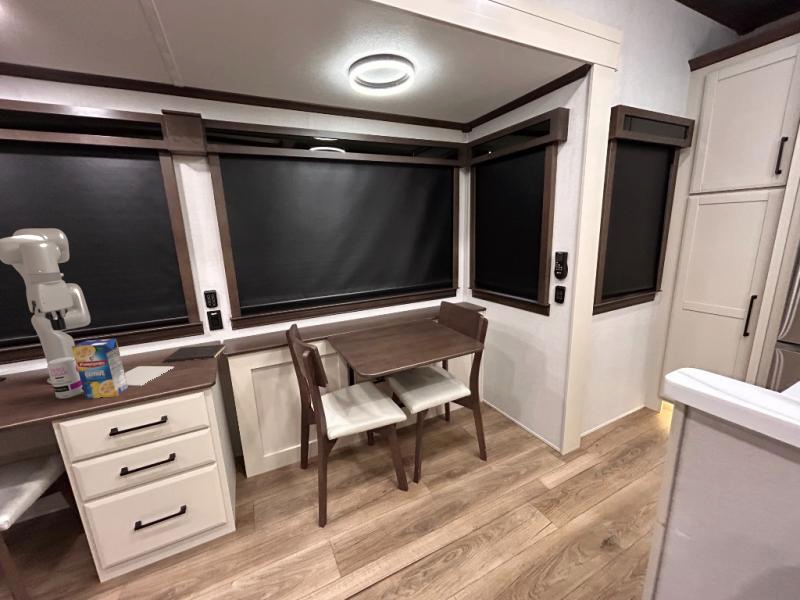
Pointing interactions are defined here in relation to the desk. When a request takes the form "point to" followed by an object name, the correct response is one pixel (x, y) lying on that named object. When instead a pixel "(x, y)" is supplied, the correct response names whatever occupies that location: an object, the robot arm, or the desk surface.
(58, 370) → the supplement can
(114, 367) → the beverage box
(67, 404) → the desk surface
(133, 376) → the mat
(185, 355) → the hardcover book
